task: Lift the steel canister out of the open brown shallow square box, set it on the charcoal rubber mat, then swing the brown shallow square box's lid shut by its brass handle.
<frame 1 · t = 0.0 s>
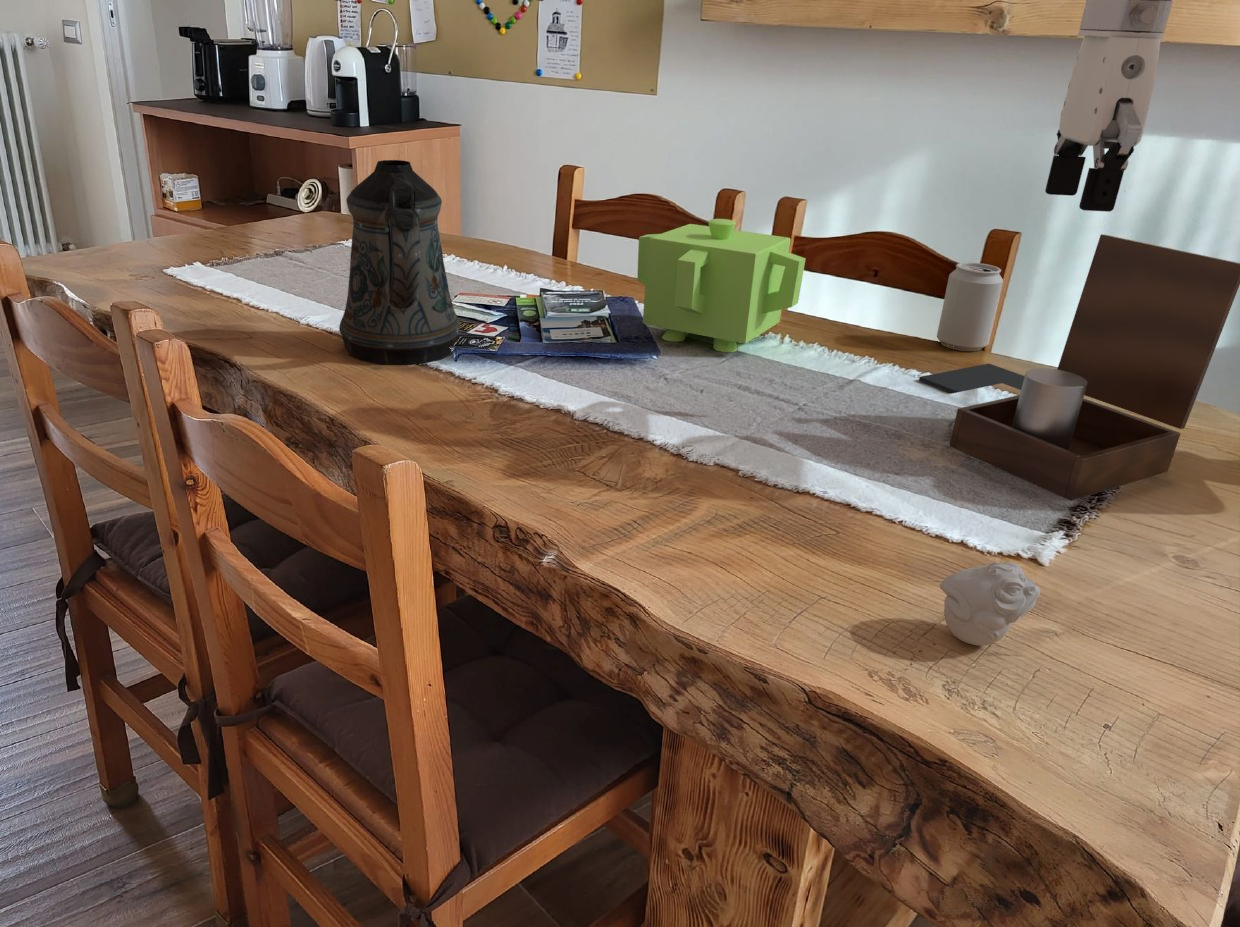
hand: (1077, 202, 105), 27 cm above the table, tool pointing down, fingers open, 9 cm apart
green square teapot: (710, 337, 151), on the table
dark ornate jug: (407, 351, 140), on the table
frog figurine: (974, 642, 79), on the table
mat: (995, 389, 133), on the table
steel canister: (1032, 464, 109), point 1 cm above the table, touching brown shallow square box
can: (961, 346, 151), on the table
lid: (1152, 328, 110), point 14 cm above the table, hinge at 95.0°
brown shallow square box: (1054, 464, 111), on the table
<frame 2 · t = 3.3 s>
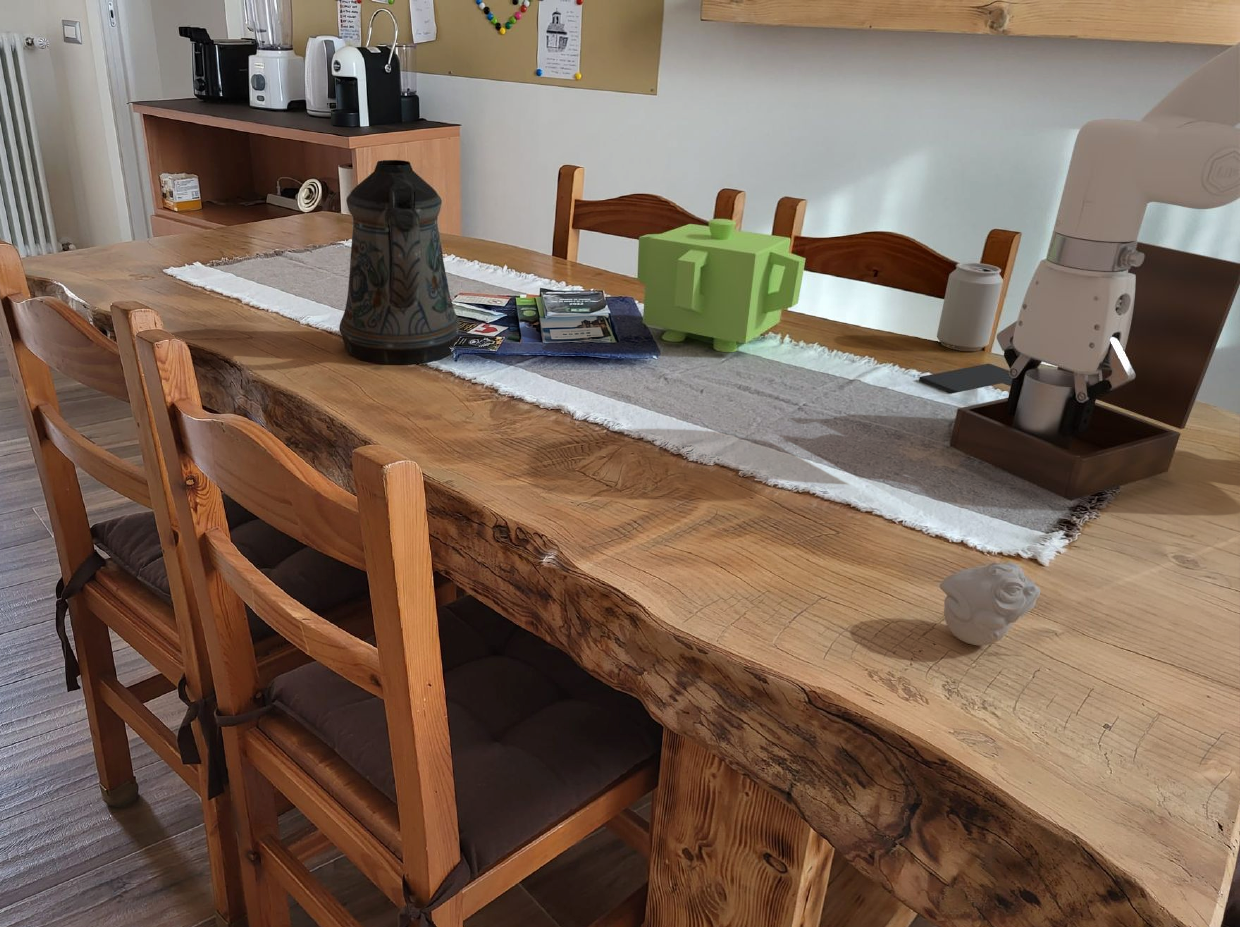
hand: (1044, 421, 107), 6 cm above the table, tool pointing down, fingers closed on steel canister, 6 cm apart
steel canister: (1032, 464, 109), point 1 cm above the table, touching brown shallow square box, gripper
everything else where it was.
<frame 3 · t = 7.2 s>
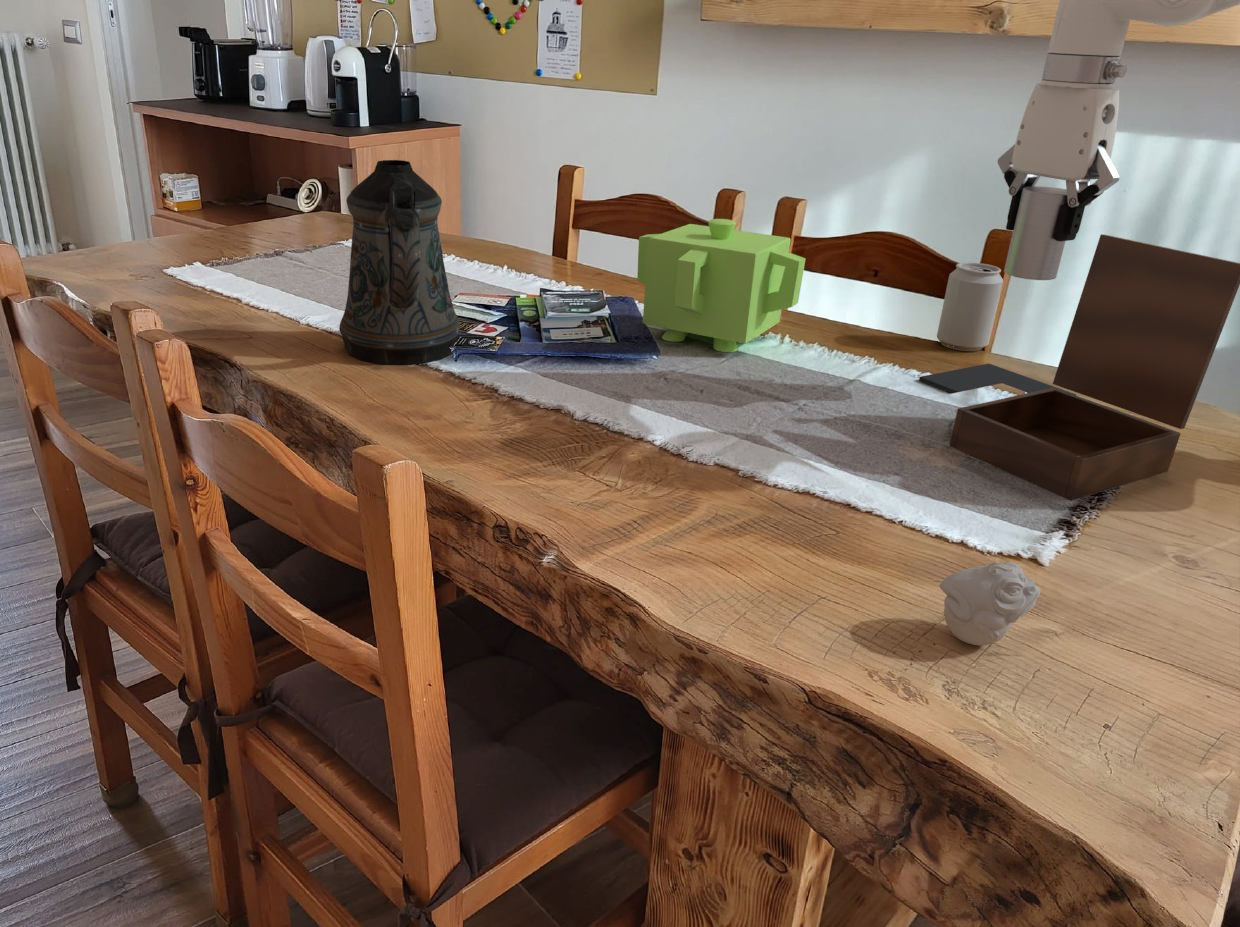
hand: (1039, 233, 121), 21 cm above the table, tool pointing down, fingers closed on steel canister, 6 cm apart
steel canister: (1029, 274, 123), point 16 cm above the table, touching gripper
everything else where it was.
when the fingers open (6 cm above the table, at t = 11.3 s): steel canister stays where it is, resting on mat.
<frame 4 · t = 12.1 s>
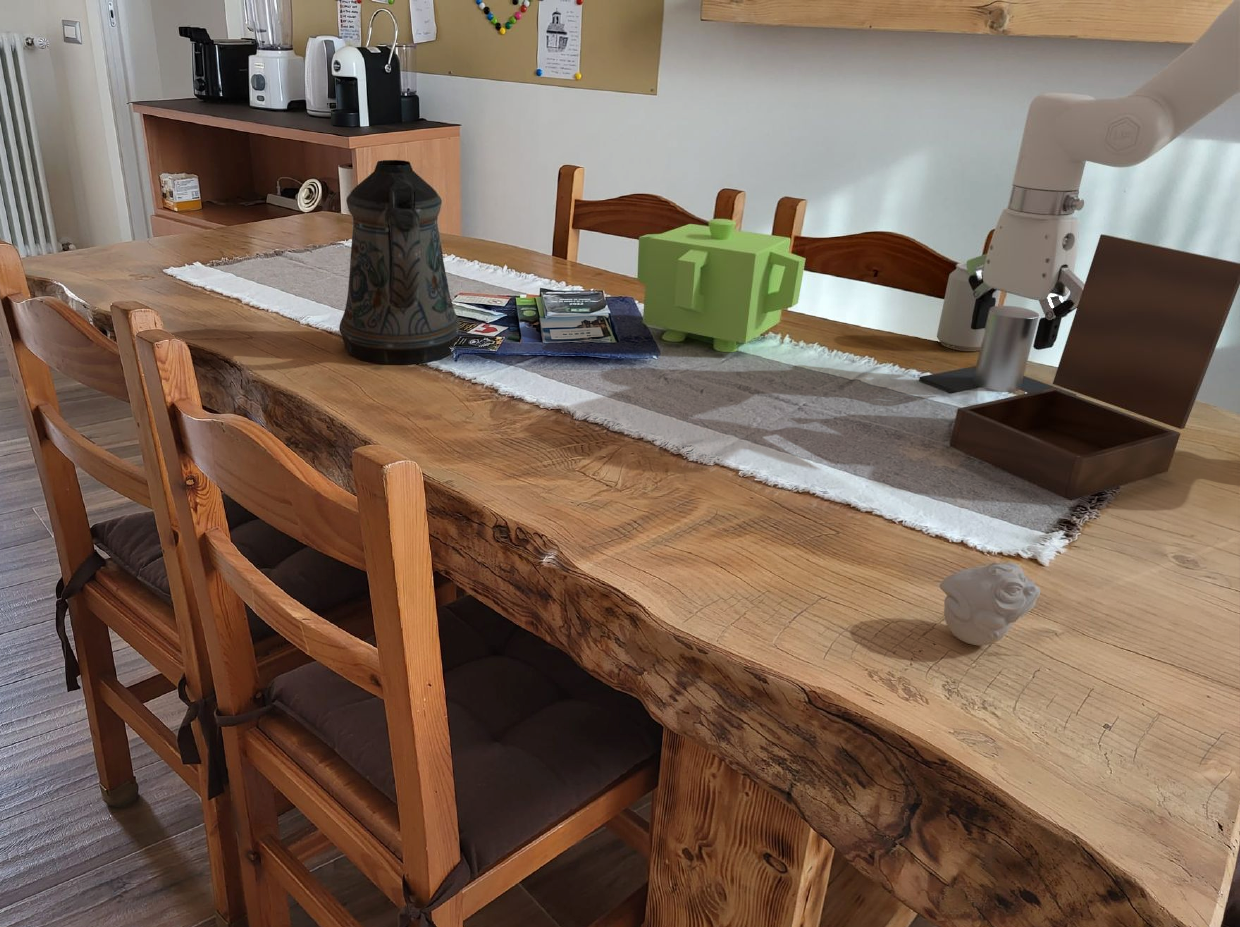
hand: (1010, 337, 130), 7 cm above the table, tool pointing down, fingers open, 9 cm apart
steel canister: (996, 385, 133), point 1 cm above the table, touching mat
everything else where it was.
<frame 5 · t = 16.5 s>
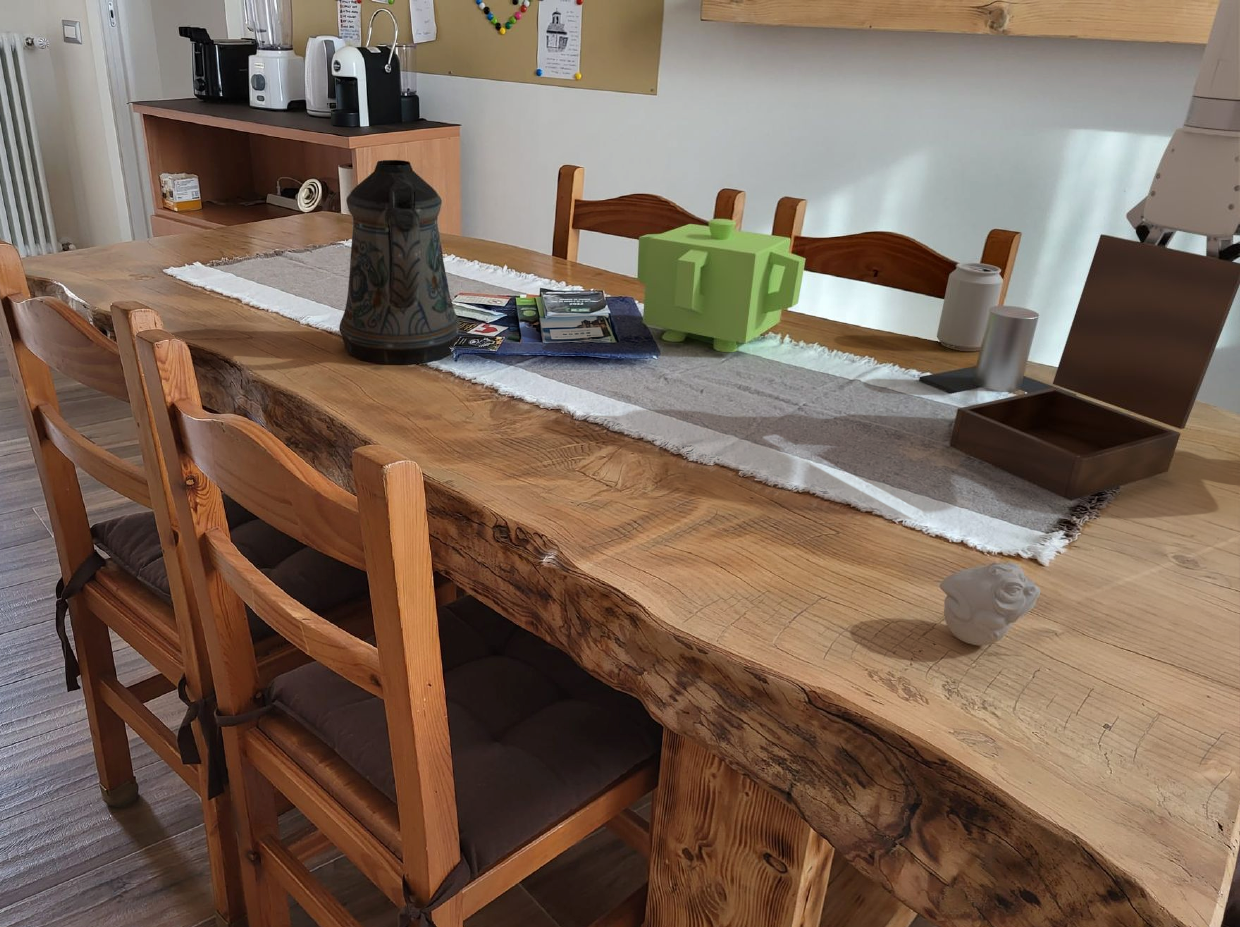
hand: (1173, 294, 109), 18 cm above the table, tool pointing down, fingers closed on lid, 5 cm apart
lid: (1152, 328, 110), point 14 cm above the table, hinge at 95.0°, touching gripper
everything else where it was.
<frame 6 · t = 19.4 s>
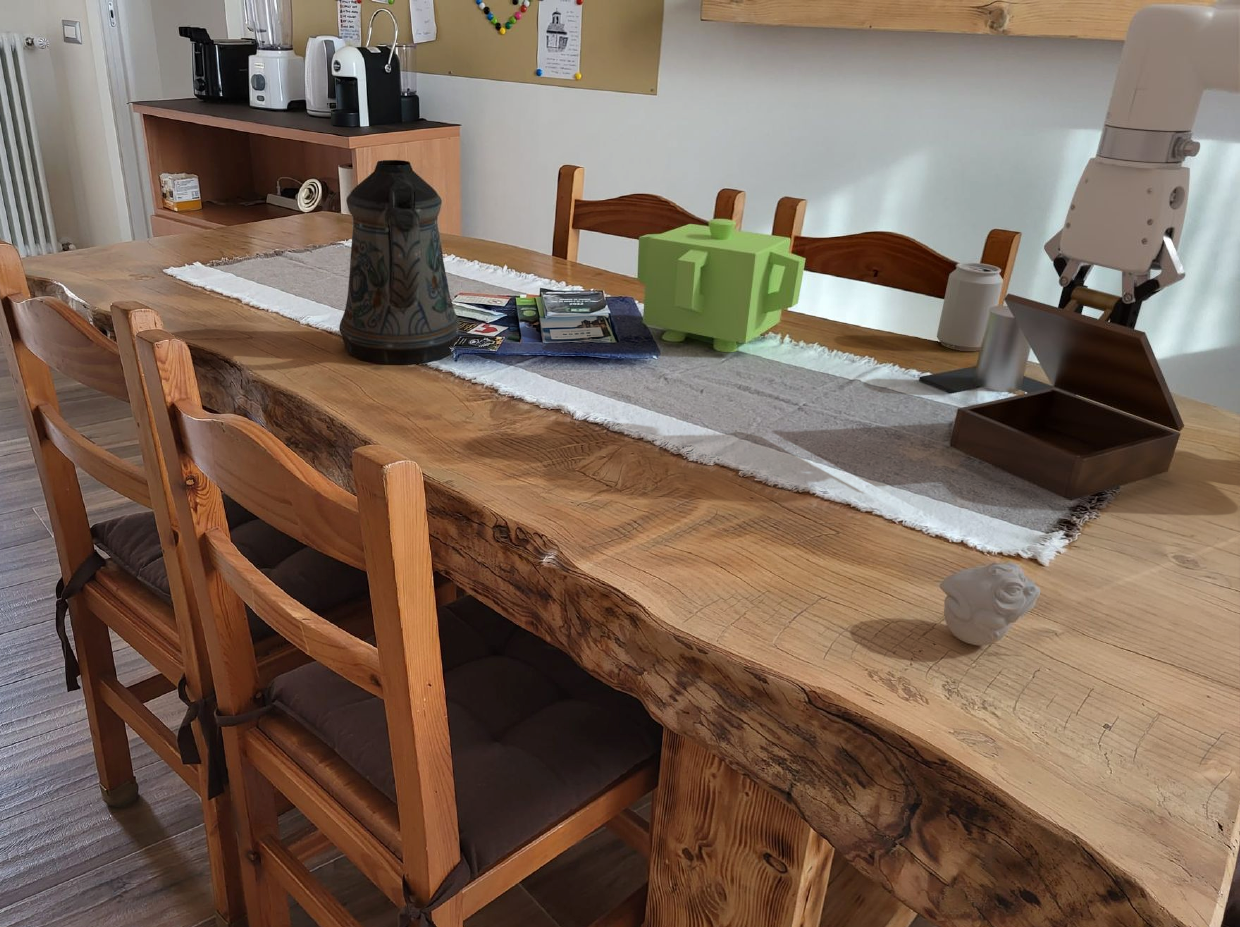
hand: (1091, 329, 104), 15 cm above the table, tool pointing down, fingers closed on lid, 5 cm apart
lid: (1105, 347, 107), point 13 cm above the table, hinge at 42.6°, touching gripper
everything else where it was.
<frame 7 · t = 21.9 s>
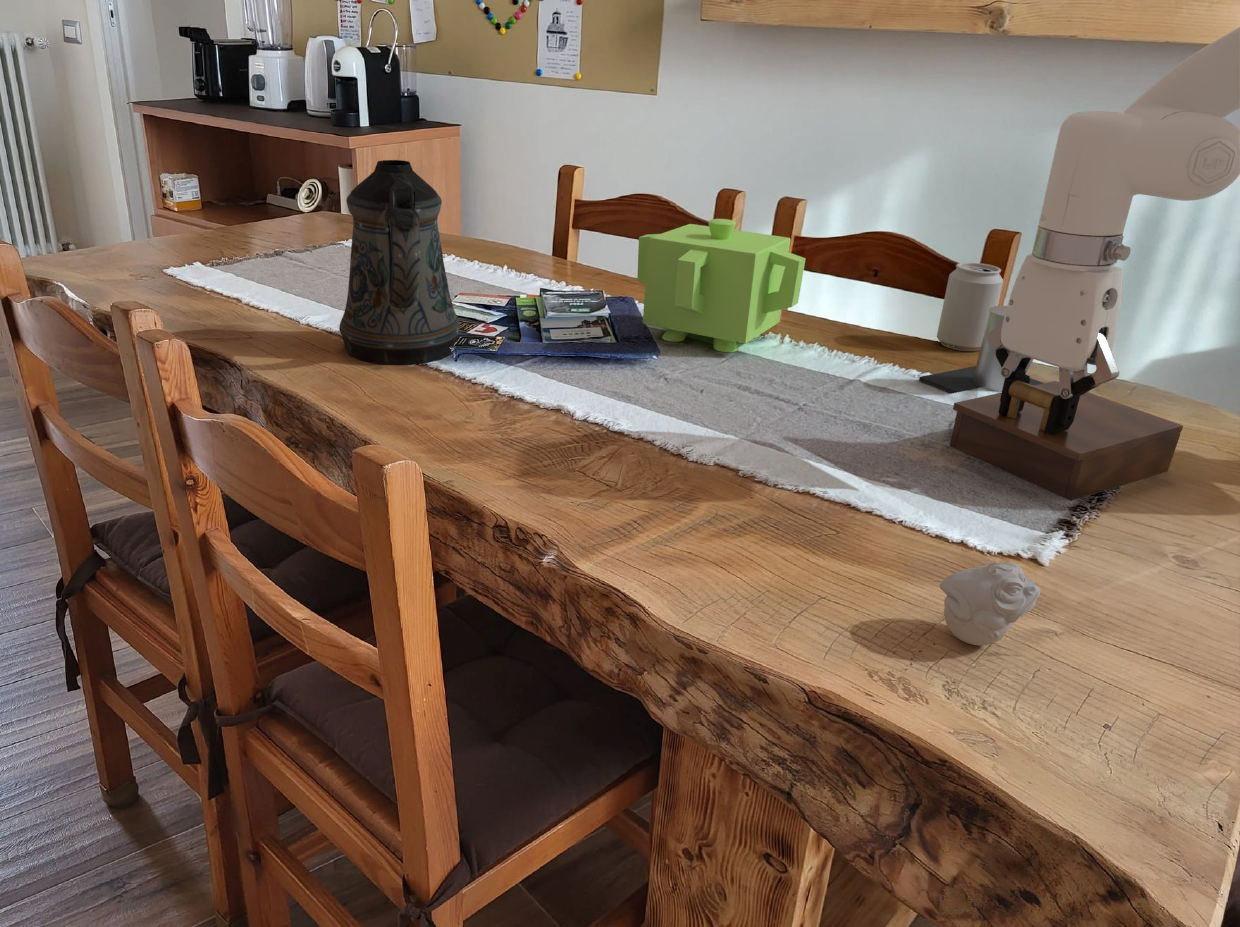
hand: (1033, 420, 105), 6 cm above the table, tool pointing down, fingers closed on lid, 5 cm apart
lid: (1070, 399, 107), point 8 cm above the table, hinge at -0.2°, touching brown shallow square box, gripper
everything else where it was.
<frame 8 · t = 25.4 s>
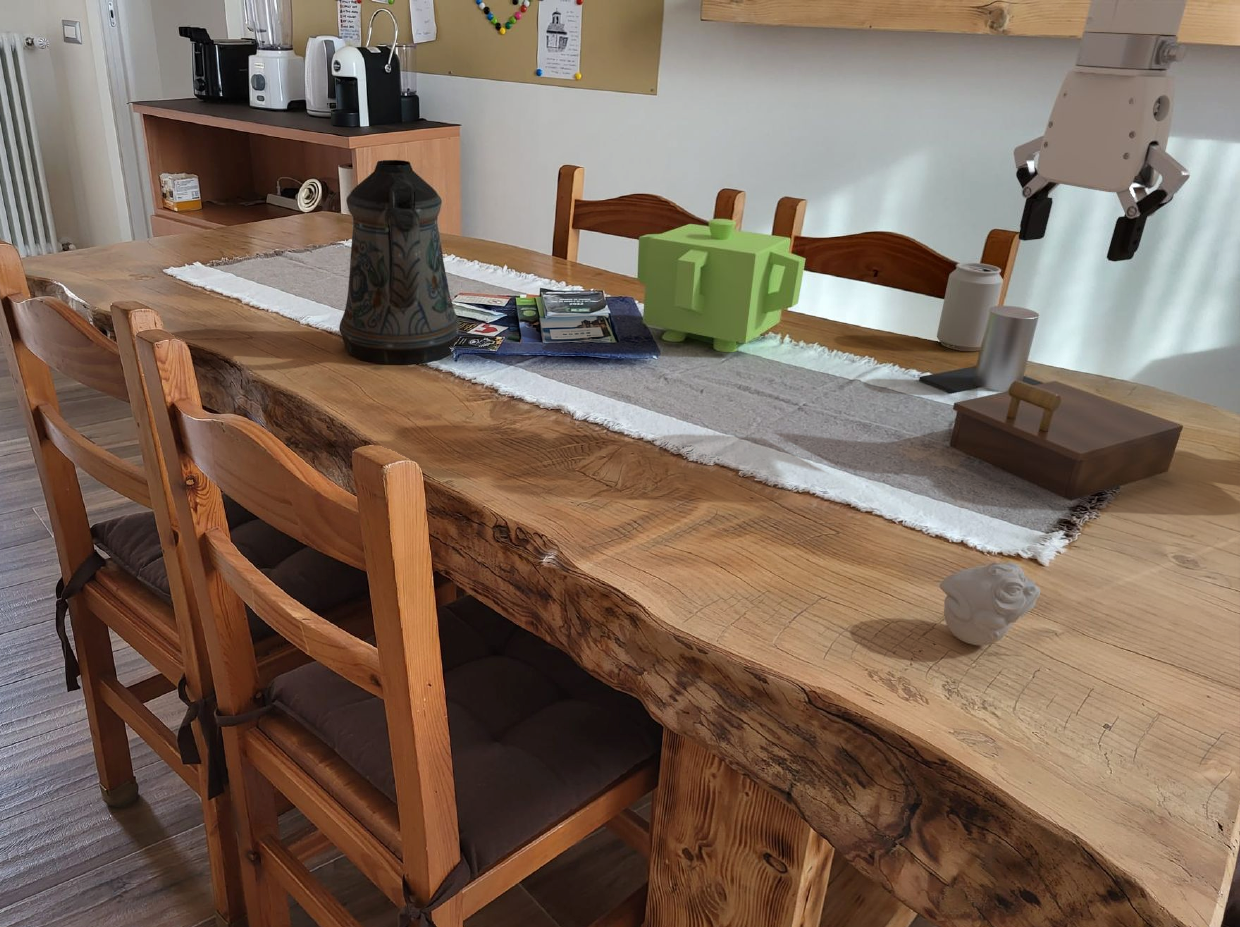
hand: (1073, 249, 97), 24 cm above the table, tool pointing down, fingers open, 9 cm apart
lid: (1070, 399, 107), point 8 cm above the table, hinge at -0.2°, touching brown shallow square box
everything else where it was.
at the end: steel canister inside the target area on the mat (0.1 cm from its centre), point 0.6 cm above the mat's base; steel canister tilted 0°; lid at +0° (first picture: +95°) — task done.
